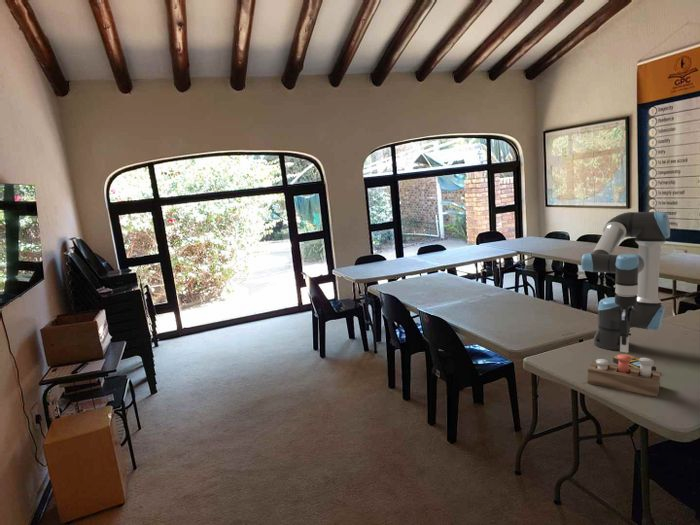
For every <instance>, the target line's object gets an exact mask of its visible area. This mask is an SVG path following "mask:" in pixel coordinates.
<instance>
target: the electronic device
mask: <svg viewBox="0 0 700 525" xmlns="http://www.w3.org/2000/svg"><path fill="white" fill-rule="evenodd" d="M624 355H629V356H630V357H631V361H629V367H634V368H640V365H641V363H639V358H636V357H634V356H633V355H630V354H628V353H625V354H624ZM612 362H613V364H616V365H619V360H618V359H617V355H615V356H613V357H612ZM651 370H652V371H657V366H654V364H653V365H651Z"/></svg>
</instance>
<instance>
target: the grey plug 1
mask: <svg viewBox="0 0 700 525" xmlns="http://www.w3.org/2000/svg"><path fill="white" fill-rule="evenodd" d="M595 361H596V364H597V365H598V369H603V370H608V365H609V363H610V361H609V360H608V359H605V358H597V359H596V360H595Z"/></svg>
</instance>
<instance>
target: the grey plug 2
mask: <svg viewBox="0 0 700 525" xmlns="http://www.w3.org/2000/svg"><path fill="white" fill-rule="evenodd" d="M638 359H639V363H641V365H640V376H643V377H649V378H651V365H653V366H654V360H653V359H652V358H648V357H640V358H638Z"/></svg>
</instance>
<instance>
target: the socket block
mask: <svg viewBox="0 0 700 525" xmlns="http://www.w3.org/2000/svg"><path fill="white" fill-rule="evenodd" d="M618 365H619V364H616V363H611V362H609V365H608V370H603V369H598V365H597V364H596V360H592V362H591V363H590V366H589V367H588V368H587V384H589V385H590V384H591V385H597V386H600V387H607V388H610V389H611V388H612V389H615V390H616V389H617V390H622V391H627V392H631V393H638V394H643V395H646V396H647V395H648V396H654V397H658V395H659V390H660V387H661V371H658V370H656V371H652V370H651V378H649V377H643V376H640V368H634V367H629V374H626V373H621V372H618Z"/></svg>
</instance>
